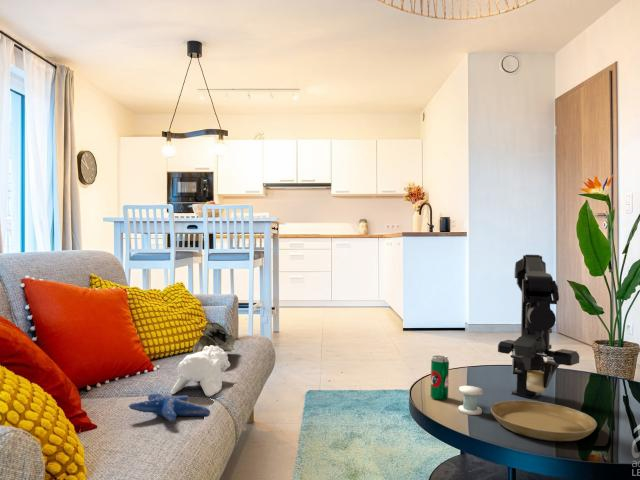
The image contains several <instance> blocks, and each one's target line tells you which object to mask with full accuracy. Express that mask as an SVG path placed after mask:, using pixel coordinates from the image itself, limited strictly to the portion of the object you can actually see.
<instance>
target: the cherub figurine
mask: <svg viewBox="0 0 640 480" xmlns="http://www.w3.org/2000/svg"><path fill="white" fill-rule="evenodd" d="M230 366H231V362H230V361H229V356H228V353H227V352H224V350H223V349H221V348H219V347H218V346H215V347H214V346H213V345H211V346H209V347H208V346H205V347H204V348H203V351H202V352H197V353H195V354H193V353H192V354H187V355H186V356H185V357H184V359H183V360H181V361H180V362H178V366H177V374H179V379H177V381H176V382H175V384H174V386H173V387H172V388H171V390H170V393H171V394H172V395H174V394H175V395H176V393H177V392H180V391H181V390H182V389H184V388H185V387H186V386H187V385H188V384H189V383H190V382H192V381H193V382H195V383H196V382H199V385H200V387H201V388H202V390H203V392H204V394H205V396H206V397H208V398H209V397H213V395H215V394H217V393H219V392H220V391H221V390H222V386H223V382H222V381H223V377H222V374H223V373H224V372H225V371H226V370H227V369H228V368H230Z"/></svg>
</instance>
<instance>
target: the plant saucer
mask: <svg viewBox="0 0 640 480" xmlns="http://www.w3.org/2000/svg"><path fill="white" fill-rule="evenodd" d="M490 411H491V413H492V416H493V417H494V418H495V420H496V421H497V422H498V423H499V424H500V425H501V426H503V427H504V428H506V429H507V430H509V431H511V432H513V433H516V434H518V435H521V436H524V437H528V438H532V439H536V440H543V441H548V442H549V441H551V442H573V441H574V442H575V441H579V440H581V439H584V438H586V437H589V436H590V435H591V434H592V433H593V432H594V431H595V430H596V429H597V426H598V423H597V420H595V419H594V417H592V416H590V415H589V414H587V413H585V412H582V411H580V410H577V409H574V408H571V407H568V406H564V405H559V404H554V403H550V402H543V401H536V400H535V401H534V400H504V401H499V402H496V403H494V404H492V405H491V407H490Z"/></svg>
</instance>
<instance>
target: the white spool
mask: <svg viewBox="0 0 640 480" xmlns="http://www.w3.org/2000/svg"><path fill="white" fill-rule="evenodd" d="M458 392H459V393H461V394H463V403H462V404H461V405H458V412H460V413H461V414H464V415H469V416H480V415H481V414H482V413H483V412H482V411H483V409H482V408H481V407H480V406H478V397H479V396H481V395H483V389H482V388H481V387H477V386H473V385H462V386H459V388H458Z"/></svg>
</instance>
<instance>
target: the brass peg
mask: <svg viewBox="0 0 640 480" xmlns="http://www.w3.org/2000/svg"><path fill="white" fill-rule="evenodd" d="M527 390H530V391H534V392H538V393H545V392H546V388H544V372H542V371H537V370H528V371H527Z"/></svg>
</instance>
